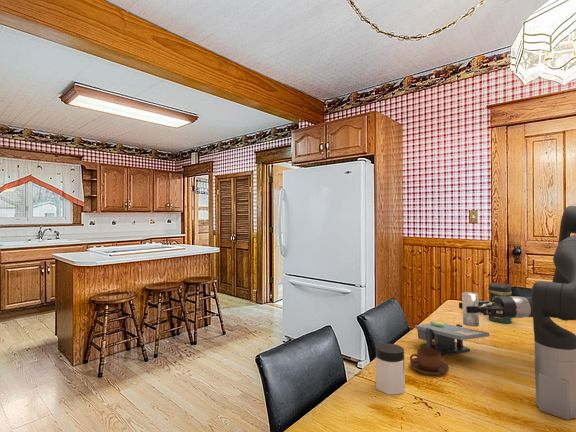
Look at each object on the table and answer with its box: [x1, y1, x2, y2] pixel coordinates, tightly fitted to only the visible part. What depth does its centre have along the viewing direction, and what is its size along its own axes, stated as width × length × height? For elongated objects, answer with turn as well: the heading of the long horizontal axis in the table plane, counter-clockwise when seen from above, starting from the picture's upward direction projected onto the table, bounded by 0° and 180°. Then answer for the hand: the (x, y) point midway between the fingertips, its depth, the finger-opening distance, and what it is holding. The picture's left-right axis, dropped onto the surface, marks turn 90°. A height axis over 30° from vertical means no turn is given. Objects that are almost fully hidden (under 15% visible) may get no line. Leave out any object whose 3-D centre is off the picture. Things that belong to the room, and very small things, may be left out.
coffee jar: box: [487, 282, 513, 324], centre depth 166 cm, size 10×8×19 cm
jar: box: [374, 342, 406, 396], centre depth 102 cm, size 9×8×12 cm
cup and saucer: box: [409, 348, 450, 376], centre depth 115 cm, size 12×12×6 cm
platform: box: [414, 320, 490, 342], centre depth 128 cm, size 25×12×7 cm, turn 16°
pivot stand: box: [420, 323, 471, 357], centre depth 131 cm, size 8×16×9 cm, turn 106°
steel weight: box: [461, 291, 480, 328], centre depth 122 cm, size 5×5×11 cm
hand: (463, 307), depth 122 cm, fingers closed on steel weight, 5 cm apart
